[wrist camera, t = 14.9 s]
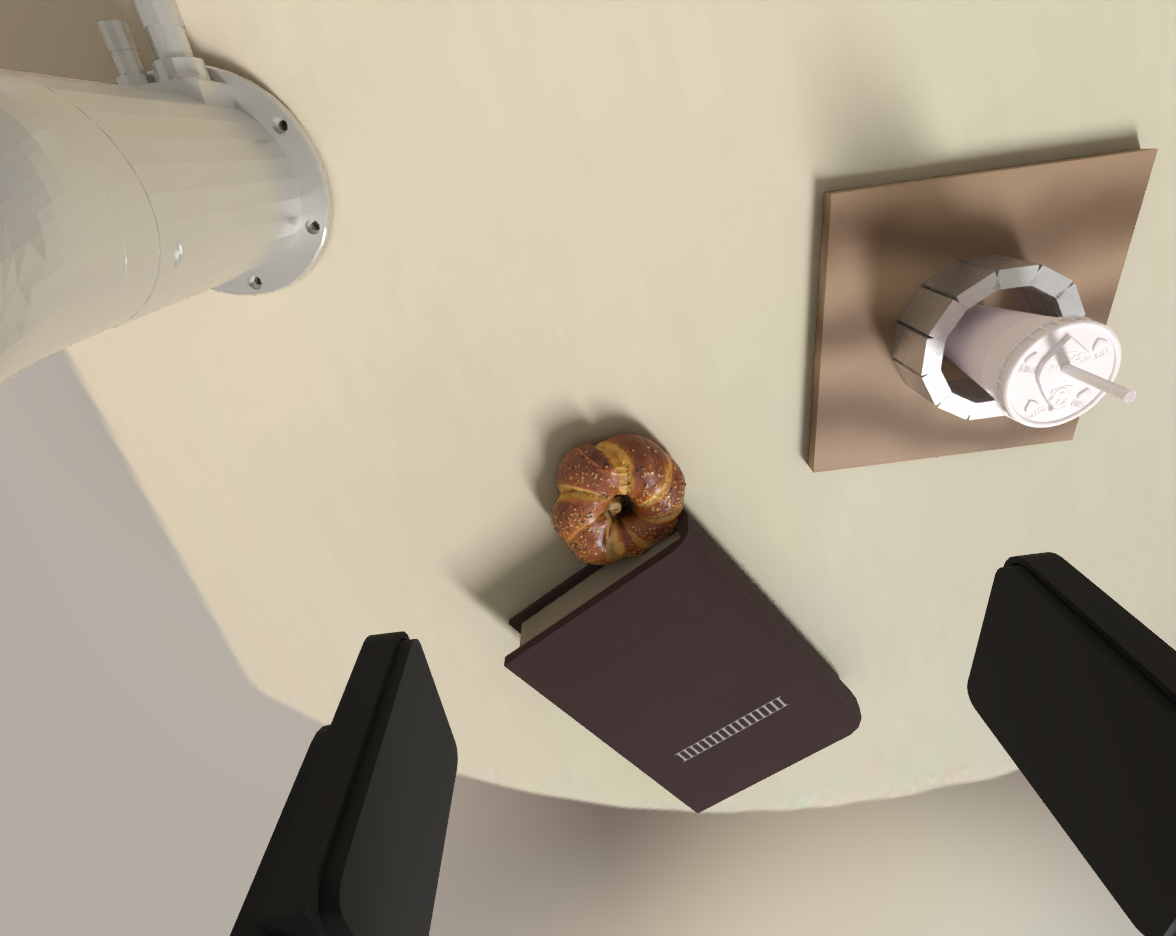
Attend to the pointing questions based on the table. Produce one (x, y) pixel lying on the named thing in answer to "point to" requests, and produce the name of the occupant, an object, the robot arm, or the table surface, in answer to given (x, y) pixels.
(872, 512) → the table surface
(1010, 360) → the smoothie
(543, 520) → the table surface
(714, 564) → the book
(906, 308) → the steel sleeve
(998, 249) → the walnut board
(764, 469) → the table surface
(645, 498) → the pretzel
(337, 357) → the table surface
